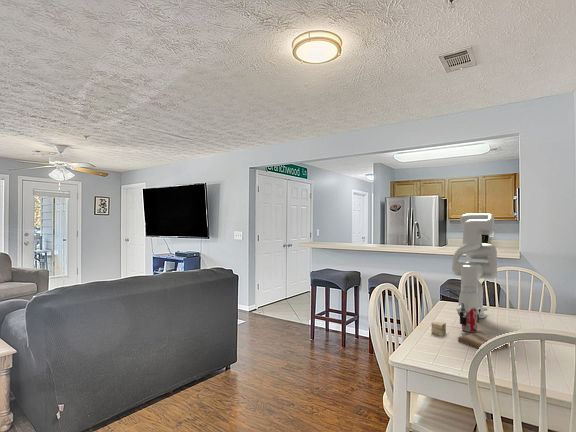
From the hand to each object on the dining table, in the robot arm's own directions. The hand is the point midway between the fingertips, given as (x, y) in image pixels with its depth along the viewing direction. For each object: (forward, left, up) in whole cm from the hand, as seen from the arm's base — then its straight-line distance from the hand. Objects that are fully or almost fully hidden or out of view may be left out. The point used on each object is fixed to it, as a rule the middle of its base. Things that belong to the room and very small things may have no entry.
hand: (469, 323), depth 171 cm
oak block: (+17, -4, -4) cm, 18 cm away
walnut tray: (+11, +15, -4) cm, 19 cm away
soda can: (0, 0, -4) cm, 4 cm away
